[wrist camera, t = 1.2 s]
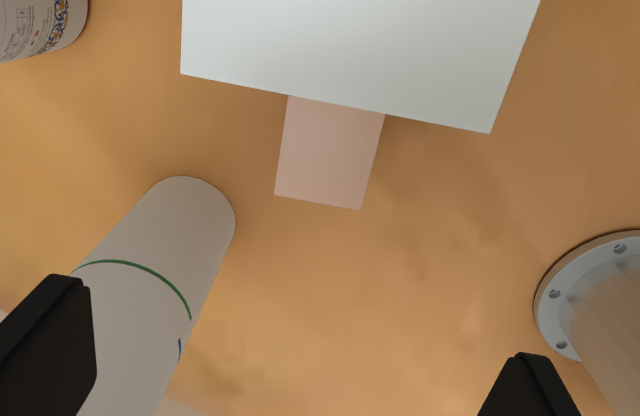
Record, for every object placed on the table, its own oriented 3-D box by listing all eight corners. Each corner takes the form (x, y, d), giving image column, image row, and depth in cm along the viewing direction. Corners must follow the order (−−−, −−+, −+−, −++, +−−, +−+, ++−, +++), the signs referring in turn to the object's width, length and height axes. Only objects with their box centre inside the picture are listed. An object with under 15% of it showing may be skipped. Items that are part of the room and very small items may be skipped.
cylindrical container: (142, 248, 34) (-223, 727, 12) (142, 167, 31) (-354, 618, 9) (230, 265, 35) (32, 760, 13) (240, 186, 31) (-5, 668, 9)
